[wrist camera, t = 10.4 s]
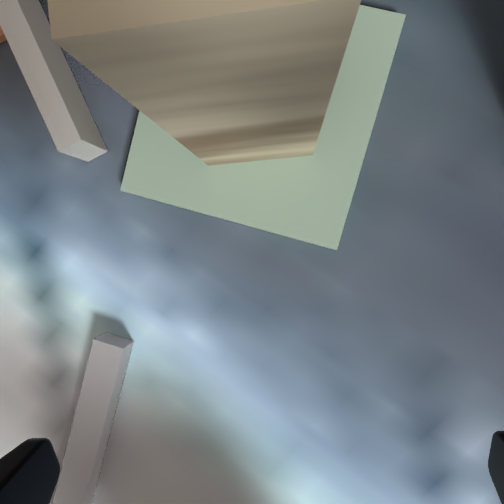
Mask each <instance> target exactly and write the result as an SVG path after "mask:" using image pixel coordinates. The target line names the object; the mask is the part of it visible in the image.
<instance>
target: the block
mask: <svg viewBox="0 0 504 504" xmlns="http://www.w3.org/2000/svg"><path fill="white" fill-rule="evenodd" d="M47 2H48V11H49V21H50V30H51V40H53V41H54V42H55V43H56V44H58V45H59V46H60V47H61V48H63V49H64V50H65V51H66V52H68V53H69V54H70V55H71V56H72V57H74V58H75V59H76V60H77V61H79V62H80V63H81V64H82V65H84V66H85V67H86V68H87V69H89V70H90V71H91V72H92V73H94V74H95V75H96V76H97V77H99V78H100V79H101V80H102V81H104V82H105V83H106V84H107V85H109V86H110V87H111V88H112V89H114V90H115V91H116V92H117V93H118V94H120V95H121V96H122V97H123V98H125V99H126V100H127V101H128V102H130V103H131V104H132V105H133V106H135V107H136V108H137V109H138V110H140V111H141V112H142V113H143V114H145V115H146V116H147V117H148V118H150V119H151V120H152V121H153V122H155V123H156V124H157V125H158V126H160V127H161V128H162V129H163V130H164V131H166V132H167V133H168V134H169V135H171V136H172V137H173V138H174V139H176V140H177V141H178V142H179V143H181V144H182V145H183V146H184V147H186V148H187V149H188V150H189V151H191V152H192V153H193V154H194V155H196V156H197V157H198V158H199V159H201V160H202V161H203V162H204V163H206V164H207V165H208V166H210V165H220V164H230V163H240V162H250V161H259V160H269V159H279V158H289V157H299V156H309V155H313V152H314V149H315V146H316V143H317V140H318V136H319V133H320V130H321V127H322V124H323V120H324V117H325V114H326V111H327V108H328V105H329V101H330V98H331V95H332V92H333V89H334V85H335V82H336V79H337V76H338V73H339V70H340V66H341V63H342V60H343V57H344V54H345V50H346V47H347V44H348V41H349V38H350V34H351V31H352V28H353V25H354V22H355V19H356V15H357V12H358V9H359V6H360V3H361V0H47Z"/></svg>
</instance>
